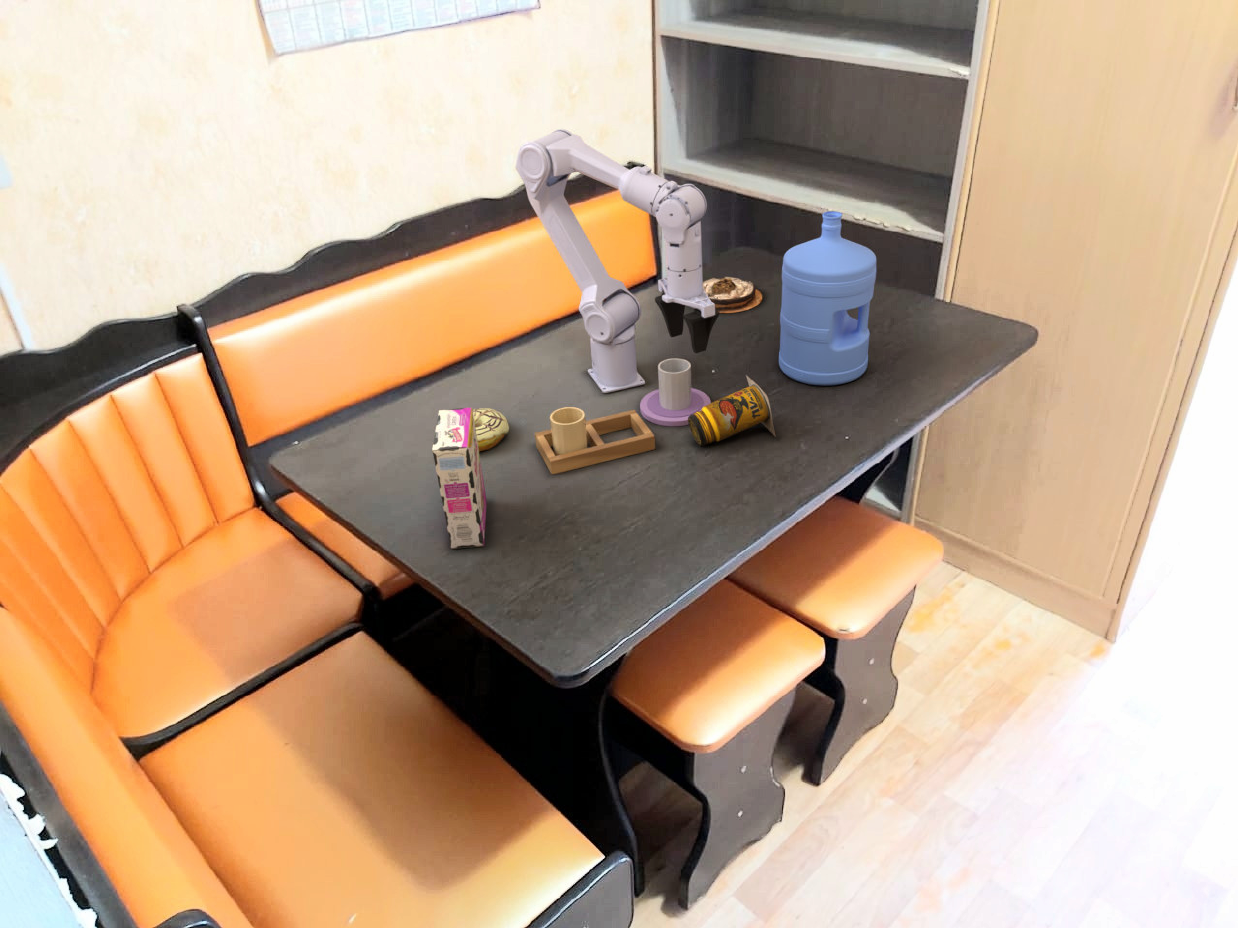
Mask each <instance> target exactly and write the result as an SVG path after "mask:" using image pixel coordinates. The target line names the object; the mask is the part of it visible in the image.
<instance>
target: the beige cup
mask: <svg viewBox="0 0 1238 928" xmlns="http://www.w3.org/2000/svg"><path fill="white" fill-rule="evenodd" d="M586 421H587V420H586V413H585V412H584V410H583V409H581V408H580V407H576V406H575V407H574V406H565V407H561V408H558V409H555V410H553V411H552V412H551V414H550V415H549V422H550V423H549V424H550V430H551V432H552V440H553V446H552V448H553V453H554V454H555V456H558V455H562V454H566V453H570V452H574V451H578V450H582V449H587V448H589V443H588V441H587V430H586Z"/></svg>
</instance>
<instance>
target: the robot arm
mask: <svg viewBox="0 0 1238 928" xmlns="http://www.w3.org/2000/svg"><path fill="white" fill-rule="evenodd" d="M515 169H516V171H517V173H518V175H519V177H520V178H521V180H522V182H523V183H524V185H525V190H526V194H527V199H528V201H529V203H530V205H531V207H532V209H533V210H534V212H535V214H536V216H537V218H538V219H539V221H540V223H541V224H542V226H543V228H544V230H545V232H546V233H547V235H548V236H549V238H550V239H551V242H552V243H553V246H554V248H555V249H556V250H557V252H558V254H559V255H560V257H561V259H562V261H563V262H564V264H565V266H566V267H567V269H568V271H569V273H570V275H571V277H572V278H573V280H574V282H575V283H576V285H577V287H578V289H579V290H580V292H581V297H580V302H579V306H578V312H579V313H580V315H581V317H582V319H583V325H584V328H585V331H586V333H587V335H588V336H589V337H590V340H589V343H590V356H591V365H592V366H591V367H592V368H588V369H587V373H588V374H589V376H590V378H592V380H593V381H594V383H595V384H596V385H597V387H598V388H599V389H600V390H601V392H602V393H603V394H609V393H613V392H617V391H623V390H625V389H630V388H634V387H638V386H643V385H645V384H646V381H645V379H644V378H643V377H642V376H641V375H640V374H639V372H638V370H637V368H638V367H637V366H638V365H637V351H636V350H637V349H636V333H635V330H636V329H637V328H636V323H637V322H638V321H639V320H640V318H641V316H642V307H641V303H640V302H639V299H638V298H637V296H635V295H634V294H633V293H632V292H631V291H629V289H628V288H627V286H626V285H625V284H624V282H623V281H621V280H619V279H616V278H613V277H611V276H610V275H609V273H608V271H607V270H606V268H605V266H604V264H603V262H602V261H601V259H600V257H599V256H598V254H597V252H596V250H595V248H594V247H593V245H592V242H591V241H590V239H589V238H588V236H587V234H586V232H585V231H584V229H583V227H582V225H581V223H580V221H579V220H578V218H577V216H576V215H575V213H574V211H573V209H572V208H571V206H570V204H569V202H568V201H567V199H566V197H565V190H566V187H567V186H566V185H567V183H568V180H569V179H570V177H571V175H572V174H573V173H579V174H581V175H584V176H586V177H589V178H591V179H593V180H596V181H598V182H600V183H603V184H605V185H607V186H609V187H612V188H614V189H616V190H618V191H619V194H620V196H621V199H622V200H623V201H624V202H625V203H627V204H629V205H631V206H633V207H635V208H637V209H639V210H641V211H642V212H645V213H647V214H648V215H651V216H653V217H655V219H656V221H657V223H658V226H660V228H661V229H662V233H663V239H664V248H665V249H664V251H665V267H666V277H664V278H660V279H658V280H657V285H658V291H659V292H660V293H661V295H657V296H656V297H655V298H654V302H655V303H656V305H657V306H658V308H659V310H660V312H661V314H662V316H663V319H664V322H665V325H666V329H667V332H668V335H669V337H670V338H676V337H678V336H679V337H680V336H682V335H683V332H684V321H685V323H686V326H687V328H688V332H689V336H690V341H691V342H690V343H691V348H692V351H693V353H694V354H699V353H702V352H706V351H707V348H708V344H709V339H710V335H711V332H712V330H713V327H714V325H715V323H716V321H717V320H718V318H719V316H720V313H719V311H717V310H716V309H715V304H714V303H713V302H711V300H710V299H709V297H708V296H707V294H706V292H705V290H704V289H703V282H704V280H703V279H704V278H703V249H702V247H703V246H702V224H701V222H702V221H701V219H702V218H703V217H704V216H705V215H706V212H707V209H708V205H707V204H708V202H707V199H706V196H705V195H704V193H703V192H702V191H701V190H700V188H698V187H696V186H695V184H692V183H685V184H681V185H679V184H678V183H677V182H676V181H674V180H668V179H665V178H664V177H662V176H660V175H657V174H655V173H654V172H652V168H651V167H649V166H647V165H644V166H642V167H641V166H635V167H633V168H630V169H629V168H628V167H625V166H624V165H623V164H620V163H619V162H617V161H615V160H613V159H612V158H610V157H608V156H607V155H605V154H603V153H602V152H601V151H598V150H597V149H595V148H593V147H592V146H590V145H589V144H587V143H586V142H585V141H584V139H583V138H582V136H581V135H578V134H573V133H572V132H571V131H569V130H567V129H564V128H560V129H556V130H554V131H552V132H551V133H549V134H547V135H544V136H542V137H540V138H537V139H535V140H532V141H527V142H525V143H524V144H522V145H521V146H520V148H519V149H518V153H517V157H516V163H515ZM605 299H606V300H605ZM686 307H689V308H692V309H693V311H692V312H688V313H685V309H686Z"/></svg>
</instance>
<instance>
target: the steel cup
mask: <svg viewBox="0 0 1238 928" xmlns="http://www.w3.org/2000/svg"><path fill="white" fill-rule="evenodd" d="M691 366H692V364H691V362H690V361H689V360H686V359H684V358H678V357H676V358H675V357H674V358H668V359H667V358H666V359H664V360H662V361H660V362H659V363H658V365H657V375H658V389H659V400H660V405H661V406H662V407H663V408H665V409H668V410H682V409H685V408H687V407H689V406H690V405H691V403H692V397H691V388H692V367H691Z"/></svg>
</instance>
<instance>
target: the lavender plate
mask: <svg viewBox="0 0 1238 928" xmlns="http://www.w3.org/2000/svg"><path fill="white" fill-rule="evenodd" d="M691 397H692V403H691V405H690V406H689V407H687V408H685V409H682V410H668V409H665V408H663V407H662V406H661V405H660V400H659V388H658V389H655V390H652V391H650V392H649V393H647V394H646V395H645V396H643V397H642V398H641V400H640V403H639V410H640V414H641V415H642V417H643V418H644V419H646V421H648V422H650V423H652V424H655V425H657V426H662V427H664V426H665V427H683V426H689V424H688V417H689V416H690V415H692V414H694V413H696V412H698V411H701V410H702V408H703V407H704V406H706V405H708V404H710V403H712V401H711V398H710V396H709V395H708V394H706V393H705V392H704V391H702V390H700V389H697V388H694V387H691Z"/></svg>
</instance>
